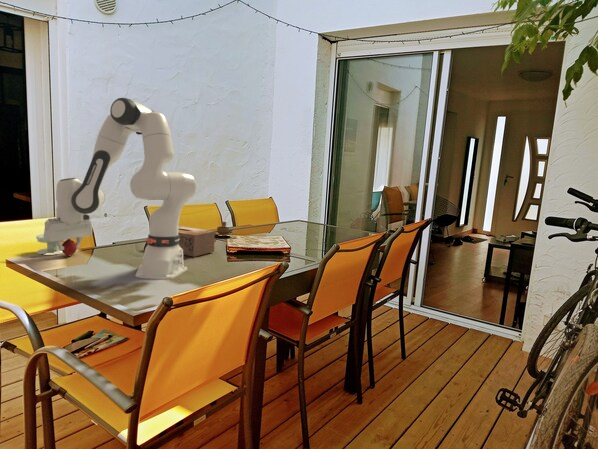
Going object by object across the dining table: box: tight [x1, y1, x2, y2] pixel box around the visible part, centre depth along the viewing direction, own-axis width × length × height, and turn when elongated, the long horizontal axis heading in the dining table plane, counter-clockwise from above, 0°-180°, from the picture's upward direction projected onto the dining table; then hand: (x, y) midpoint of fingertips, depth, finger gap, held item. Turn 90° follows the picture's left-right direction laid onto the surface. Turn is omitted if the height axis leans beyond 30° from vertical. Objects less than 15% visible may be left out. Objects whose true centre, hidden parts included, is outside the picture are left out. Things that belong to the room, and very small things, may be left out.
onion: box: [61, 239, 78, 256], centre depth 182 cm, size 6×6×8 cm
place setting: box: [215, 221, 234, 236], centre depth 259 cm, size 18×20×6 cm
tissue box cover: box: [178, 225, 216, 258], centre depth 208 cm, size 26×14×10 cm, turn 63°
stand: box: [35, 233, 67, 255], centre depth 187 cm, size 11×11×8 cm
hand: (69, 249), depth 182 cm, fingers closed on onion, 6 cm apart
